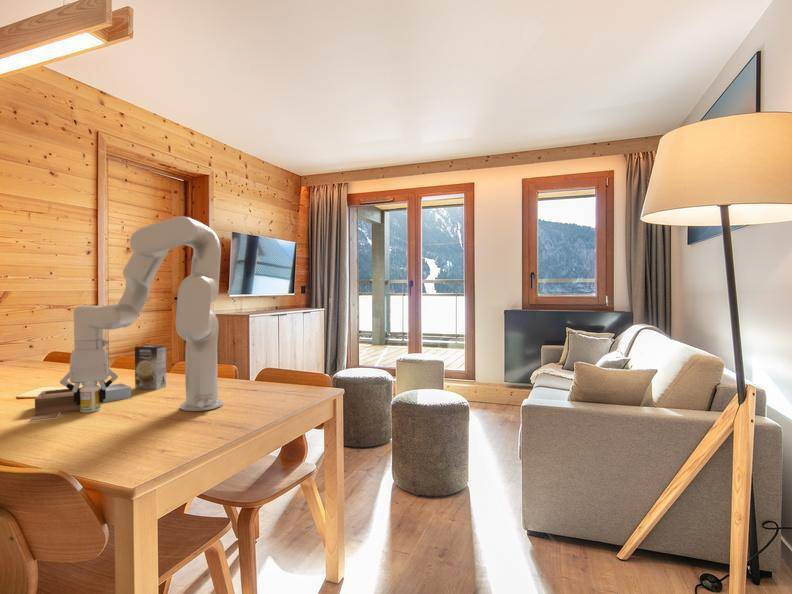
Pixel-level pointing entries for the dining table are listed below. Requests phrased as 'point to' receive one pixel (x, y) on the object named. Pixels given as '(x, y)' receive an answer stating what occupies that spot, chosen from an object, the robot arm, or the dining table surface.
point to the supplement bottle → (90, 397)
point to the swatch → (44, 416)
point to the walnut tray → (55, 401)
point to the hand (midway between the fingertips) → (90, 402)
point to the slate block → (117, 392)
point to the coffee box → (150, 367)
